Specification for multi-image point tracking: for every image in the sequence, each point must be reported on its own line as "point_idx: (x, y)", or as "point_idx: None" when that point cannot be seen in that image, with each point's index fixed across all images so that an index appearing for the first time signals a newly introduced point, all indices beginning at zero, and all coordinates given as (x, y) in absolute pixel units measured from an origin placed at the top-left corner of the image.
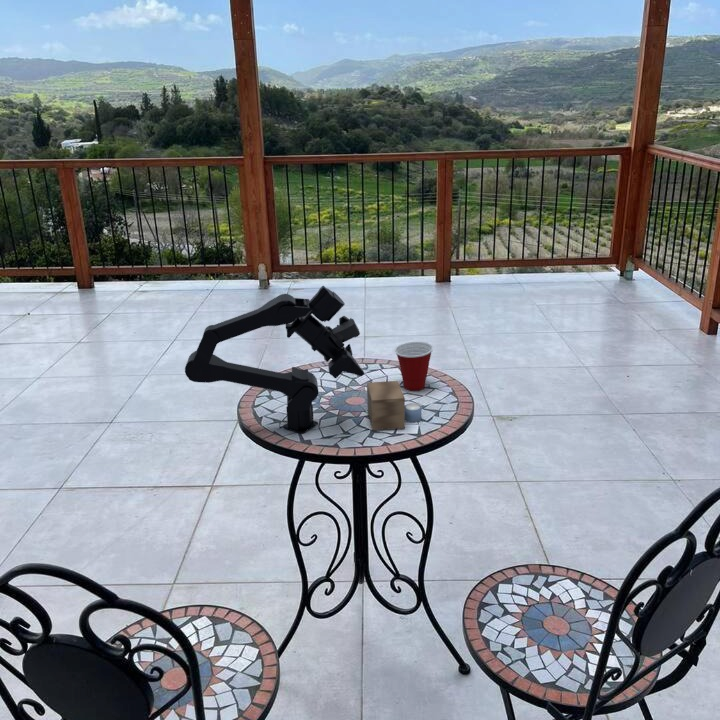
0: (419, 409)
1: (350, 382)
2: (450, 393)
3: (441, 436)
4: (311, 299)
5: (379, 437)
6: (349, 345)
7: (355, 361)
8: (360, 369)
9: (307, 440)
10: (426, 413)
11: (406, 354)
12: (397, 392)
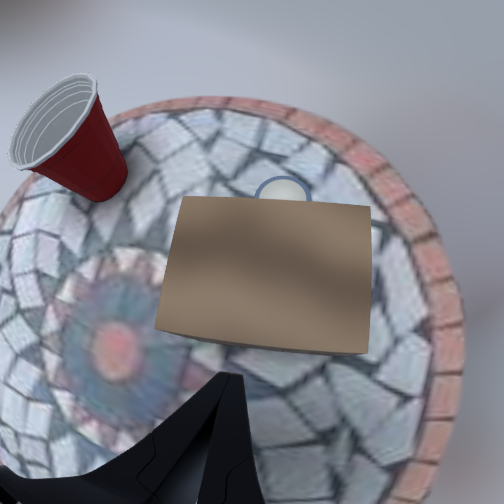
0: (304, 185)
1: (28, 324)
2: (173, 116)
3: (398, 179)
4: None
5: (384, 341)
6: (16, 499)
7: (183, 452)
8: (246, 410)
9: None
10: (261, 178)
11: (34, 152)
12: (305, 220)
